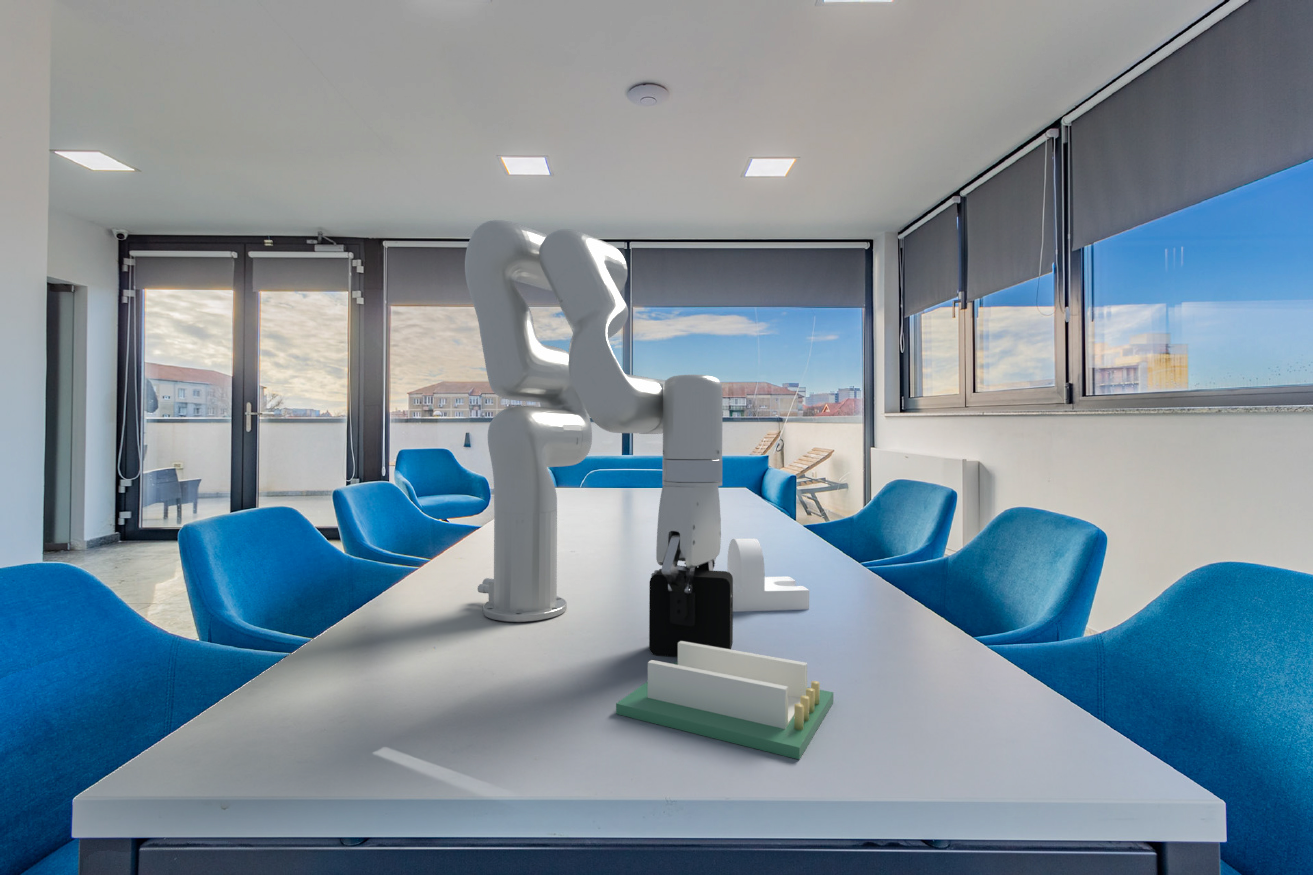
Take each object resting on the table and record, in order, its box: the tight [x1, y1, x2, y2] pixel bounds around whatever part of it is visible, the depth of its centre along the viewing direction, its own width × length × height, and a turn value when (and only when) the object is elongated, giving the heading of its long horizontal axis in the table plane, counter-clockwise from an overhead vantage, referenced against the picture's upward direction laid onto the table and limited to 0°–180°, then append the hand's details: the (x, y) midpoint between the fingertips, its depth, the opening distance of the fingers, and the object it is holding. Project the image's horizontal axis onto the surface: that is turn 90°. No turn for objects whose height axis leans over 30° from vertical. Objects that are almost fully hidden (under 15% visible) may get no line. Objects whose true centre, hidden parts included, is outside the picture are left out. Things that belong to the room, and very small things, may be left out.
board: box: [615, 641, 834, 760], centre depth 62 cm, size 18×13×4 cm
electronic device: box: [648, 568, 734, 658], centre depth 78 cm, size 4×10×10 cm, turn 78°
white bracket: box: [726, 538, 810, 613], centre depth 101 cm, size 18×10×11 cm, turn 96°
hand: (691, 617), depth 78 cm, fingers closed on electronic device, 4 cm apart
